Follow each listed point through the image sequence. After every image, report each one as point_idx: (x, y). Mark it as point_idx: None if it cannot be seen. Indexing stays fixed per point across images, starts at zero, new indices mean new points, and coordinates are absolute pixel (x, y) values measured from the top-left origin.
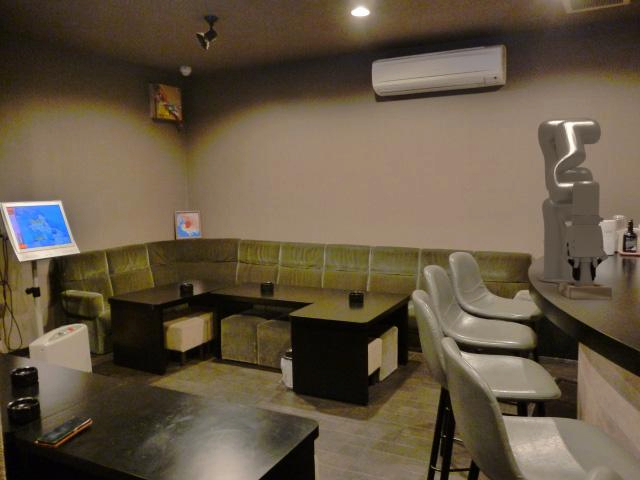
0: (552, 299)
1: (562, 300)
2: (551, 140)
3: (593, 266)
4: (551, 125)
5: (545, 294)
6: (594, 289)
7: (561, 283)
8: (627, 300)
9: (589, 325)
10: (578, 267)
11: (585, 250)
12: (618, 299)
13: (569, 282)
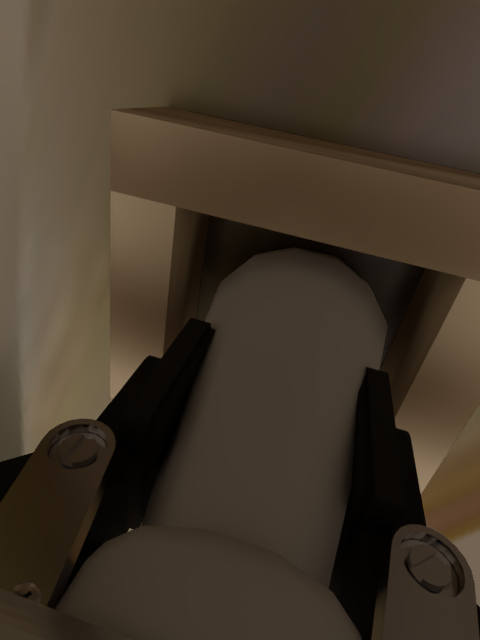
0: (41, 348)
1: (86, 386)
2: None
3: (347, 609)
4: None
5: (41, 167)
6: None
7: (113, 223)
8: (473, 498)
9: None
10: (159, 486)
11: None
12: (447, 462)
13: (234, 171)
